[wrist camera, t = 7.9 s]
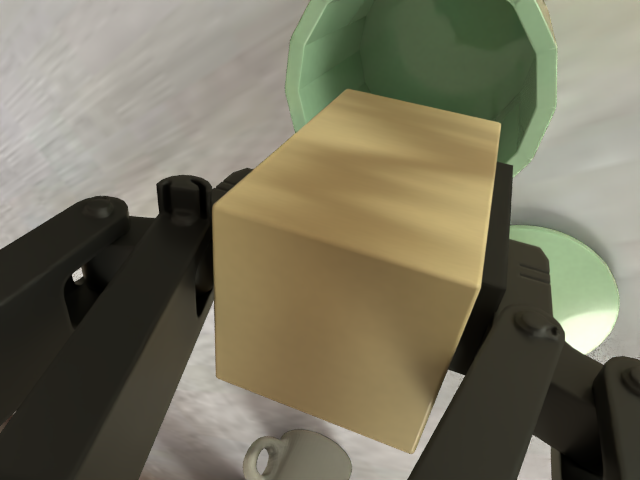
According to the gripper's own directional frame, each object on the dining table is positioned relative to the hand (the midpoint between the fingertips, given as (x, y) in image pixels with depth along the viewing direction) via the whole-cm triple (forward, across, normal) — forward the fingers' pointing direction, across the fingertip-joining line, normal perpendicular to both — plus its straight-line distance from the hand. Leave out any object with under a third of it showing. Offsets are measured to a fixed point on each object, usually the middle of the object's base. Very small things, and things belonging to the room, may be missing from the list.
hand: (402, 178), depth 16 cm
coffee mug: (+19, -6, -50) cm, 54 cm away
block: (0, 0, 0) cm, 0 cm away
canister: (+19, -1, 0) cm, 19 cm away
